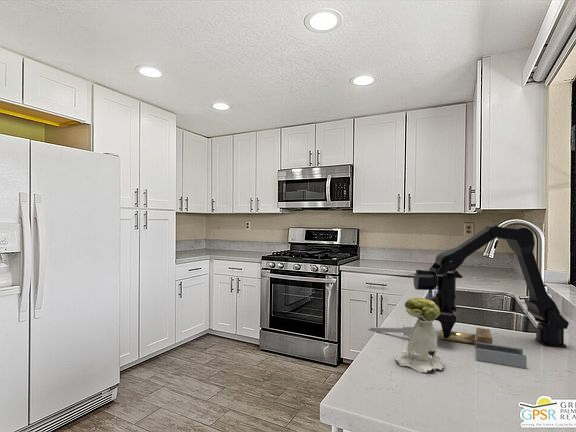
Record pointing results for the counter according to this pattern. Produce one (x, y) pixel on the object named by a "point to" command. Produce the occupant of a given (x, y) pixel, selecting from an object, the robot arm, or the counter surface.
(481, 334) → the walnut beam
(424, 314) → the ceramic tree figurine
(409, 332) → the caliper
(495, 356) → the v block
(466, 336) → the golden bar
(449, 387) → the counter surface
